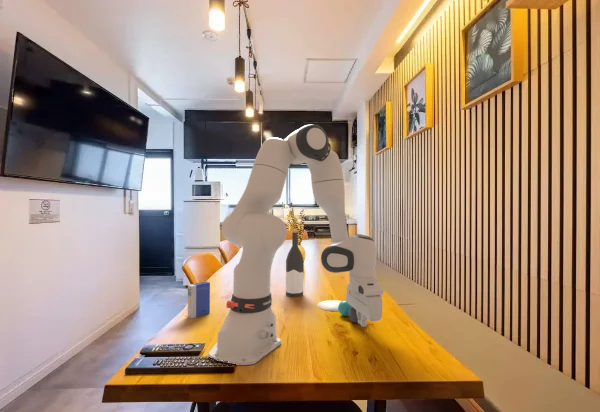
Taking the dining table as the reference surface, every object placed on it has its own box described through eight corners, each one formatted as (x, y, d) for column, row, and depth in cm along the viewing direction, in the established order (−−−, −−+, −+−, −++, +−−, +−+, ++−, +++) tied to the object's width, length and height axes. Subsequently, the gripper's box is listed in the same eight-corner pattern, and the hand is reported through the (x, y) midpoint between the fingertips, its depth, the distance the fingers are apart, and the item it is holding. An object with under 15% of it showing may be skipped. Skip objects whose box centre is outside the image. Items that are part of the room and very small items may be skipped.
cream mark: (349, 313, 125) (349, 312, 125) (314, 309, 129) (314, 308, 129) (353, 302, 139) (353, 301, 139) (321, 299, 143) (321, 299, 143)
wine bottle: (303, 292, 154) (304, 228, 153) (302, 297, 146) (303, 230, 145) (286, 291, 154) (287, 228, 154) (284, 296, 146) (285, 229, 146)
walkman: (205, 311, 125) (205, 280, 125) (209, 313, 123) (210, 281, 123) (186, 316, 119) (187, 284, 119) (190, 318, 118) (191, 285, 117)
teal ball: (353, 310, 118) (349, 296, 122) (338, 315, 119) (335, 300, 122) (356, 315, 122) (352, 301, 126) (342, 319, 123) (338, 305, 127)
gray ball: (359, 301, 118) (355, 313, 120) (347, 304, 115) (343, 316, 117) (369, 312, 114) (365, 324, 116) (358, 316, 111) (353, 328, 113)
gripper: (342, 277, 118) (341, 315, 118) (367, 292, 98) (366, 338, 98) (358, 276, 119) (357, 314, 119) (386, 291, 99) (385, 336, 100)
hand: (362, 325), depth 109 cm, fingers closed
